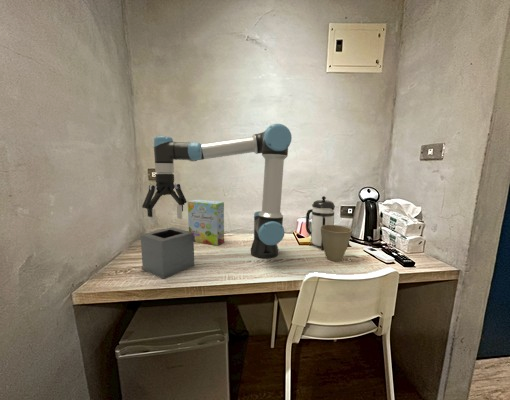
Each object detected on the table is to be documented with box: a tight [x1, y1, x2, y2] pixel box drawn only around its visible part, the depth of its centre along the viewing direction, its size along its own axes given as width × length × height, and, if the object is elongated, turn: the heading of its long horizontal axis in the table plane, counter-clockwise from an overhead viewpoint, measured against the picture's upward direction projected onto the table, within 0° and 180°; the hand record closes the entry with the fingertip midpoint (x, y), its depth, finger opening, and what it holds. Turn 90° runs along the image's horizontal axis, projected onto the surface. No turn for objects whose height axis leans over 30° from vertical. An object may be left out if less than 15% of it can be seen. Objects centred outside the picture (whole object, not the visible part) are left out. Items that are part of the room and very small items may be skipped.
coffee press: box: [305, 195, 336, 251], centre depth 132 cm, size 17×16×30 cm
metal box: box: [140, 227, 195, 280], centre depth 102 cm, size 16×16×16 cm
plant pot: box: [321, 224, 353, 262], centre depth 114 cm, size 15×15×16 cm
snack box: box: [187, 199, 225, 247], centre depth 138 cm, size 22×9×26 cm, turn 67°
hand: (166, 221), depth 100 cm, fingers open, 13 cm apart
